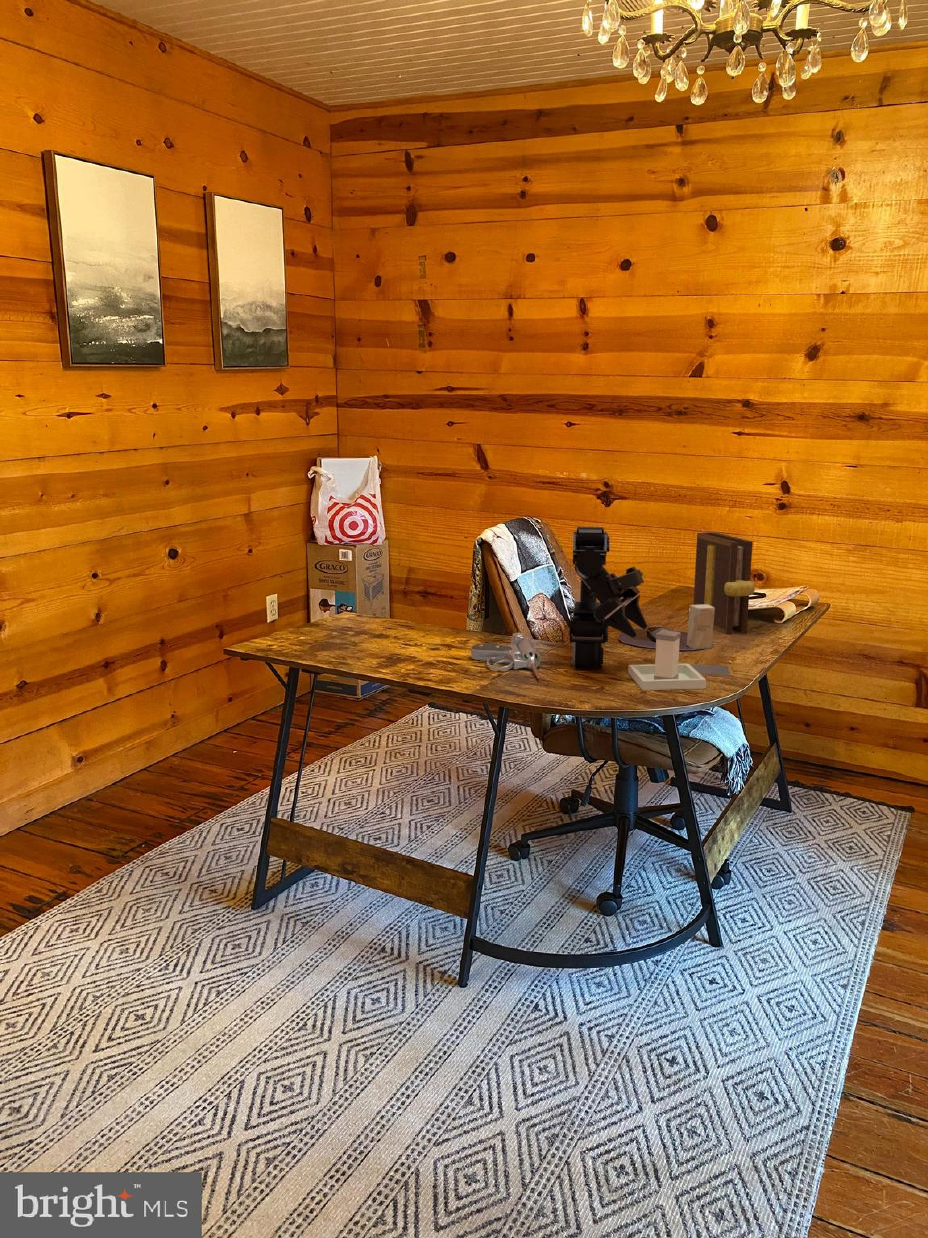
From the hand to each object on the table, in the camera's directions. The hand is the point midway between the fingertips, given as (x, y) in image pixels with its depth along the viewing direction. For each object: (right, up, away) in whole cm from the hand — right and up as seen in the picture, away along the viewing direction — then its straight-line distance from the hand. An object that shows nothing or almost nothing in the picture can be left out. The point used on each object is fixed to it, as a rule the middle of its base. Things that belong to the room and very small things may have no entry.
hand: (640, 632), depth 217 cm
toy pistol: (-30, -9, +13) cm, 33 cm away
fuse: (+5, -11, -2) cm, 12 cm away
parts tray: (+5, -11, -2) cm, 13 cm away
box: (+20, -5, +28) cm, 35 cm away
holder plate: (+17, -9, +7) cm, 20 cm away
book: (+31, +1, +50) cm, 59 cm away
